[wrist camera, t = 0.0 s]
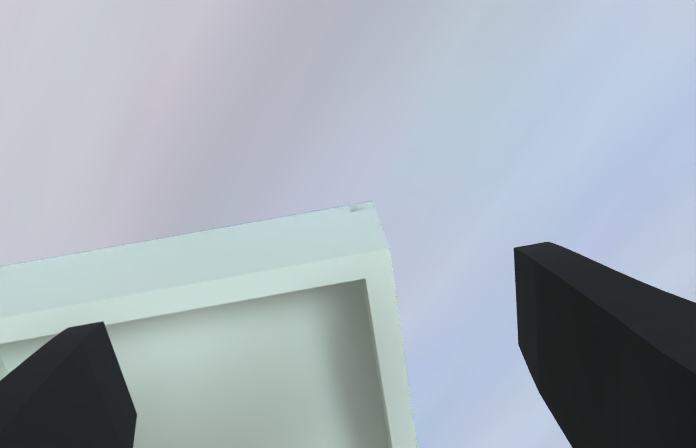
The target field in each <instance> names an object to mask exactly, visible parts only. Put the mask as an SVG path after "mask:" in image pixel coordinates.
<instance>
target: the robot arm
mask: <svg viewBox="0 0 696 448" xmlns="http://www.w3.org/2000/svg"><path fill="white" fill-rule="evenodd" d="M514 262H515V282H516V303H517V324H518V344H519V347H520V350H521V352H522V354H523V357H524V359H525V361H526V364H527V366H528V369H529V371H530V373H531V375H532V378H533V380H534V382H535V384H536V387H537V389H538V391H539V393H540V395H541V396H542V398H543V400H544V401H545V403H546V405H547V406H548V408H549V410H550V411H551V413H552V415H553V416H554V418H555V420H556V421H557V423H558V425H559V426H560V428H561V430H562V431H563V433H564V434H565V436H566V438H567V439H568V441H569V443H570V444H571V446H572V447H573V448H696V303H694V302H692V301H689V300H686V299H684V298H681V297H678V296H676V295H673V294H670V293H668V292H665V291H663V290H660V289H658V288H655V287H653V286H650V285H648V284H645V283H643V282H641V281H638V280H636V279H634V278H631V277H629V276H627V275H625V274H622V273H620V272H618V271H615V270H613V269H611V268H609V267H607V266H604V265H602V264H600V263H598V262H596V261H593V260H591V259H589V258H587V257H584V256H582V255H580V254H578V253H576V252H573V251H571V250H569V249H566V248H564V247H562V246H559V245H556V244H553V243H551V242H544V243H538V244H533V245H527V246H521V247H516V248H514ZM136 420H137V412H136V410H135V407H134V404H133V401H132V399H131V396H130V393H129V390H128V388H127V385H126V382H125V379H124V377H123V374H122V371H121V368H120V365H119V363H118V360H117V357H116V354H115V352H114V349H113V346H112V343H111V341H110V338H109V335H108V332H107V330H106V327H105V324H104V321H102V322H96V323H90V324H85V325H79V326H74V327H68V328H67V329H65V330H64V331H62V332H60V333H59V334H58V335H56V336H55V337H53V338H52V339H51V340H49V341H48V342H47V343H46V344H44V345H43V346H42V347H41V348H39V349H38V350H37V351H36V352H34V353H33V354H32V355H31V356H29V357H28V358H27V359H26V360H25V361H23V362H22V363H21V364H20V365H18V366H17V367H16V368H15V369H14V370H12V371H11V372H10V373H9V374H8V375H6V376H5V377H4V378H3V379H1V380H0V448H133V444H134V436H135V428H136Z"/></svg>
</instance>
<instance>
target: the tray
mask: <svg viewBox="0 0 696 448" xmlns="http://www.w3.org/2000/svg"><path fill="white" fill-rule="evenodd" d="M102 321H104V324H105V327H106V330H107V332H108V335H109V338H110V341H111V343H112V346H113V349H114V352H115V354H116V357H117V360H118V363H119V365H120V368H121V371H122V374H123V377H124V379H125V382H126V385H127V388H128V390H129V393H130V396H131V399H132V401H133V404H134V407H135V410H136V412H137V420H136V428H135V436H134V444H133V448H417V442H416V435H415V427H414V420H413V413H412V406H411V399H410V391H409V384H408V377H407V370H406V363H405V355H404V348H403V341H402V334H401V326H400V319H399V312H398V305H397V298H396V290H395V283H394V276H393V269H392V261H391V254H390V248H389V245H388V242H387V239H386V237H385V234H384V231H383V228H382V225H381V222H380V219H379V216H378V214H377V211H376V208H375V205H374V202H373V201H370V202H365V203H359V204H353V205H348V206H342V207H336V208H331V209H325V210H319V211H314V212H308V213H302V214H297V215H291V216H285V217H280V218H274V219H268V220H263V221H257V222H251V223H246V224H240V225H234V226H229V227H223V228H217V229H212V230H206V231H200V232H195V233H189V234H183V235H178V236H172V237H166V238H161V239H155V240H149V241H144V242H138V243H132V244H127V245H121V246H115V247H110V248H104V249H98V250H93V251H87V252H81V253H76V254H70V255H64V256H59V257H53V258H47V259H42V260H36V261H30V262H25V263H19V264H13V265H8V266H2V267H0V380H1V379H3V378H4V377H5V376H6V375H8V374H9V373H10V372H11V371H12V370H14V369H15V368H16V367H17V366H18V365H20V364H21V363H22V362H23V361H25V360H26V359H27V358H28V357H29V356H31V355H32V354H33V353H34V352H36V351H37V350H38V349H39V348H41V347H42V346H43V345H44V344H46V343H47V342H48V341H49V340H51V339H52V338H53V337H55V336H56V335H58V334H59V333H60V332H62V331H64V330H65V329H67V328H68V327H74V326H79V325H85V324H90V323H96V322H102Z"/></svg>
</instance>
